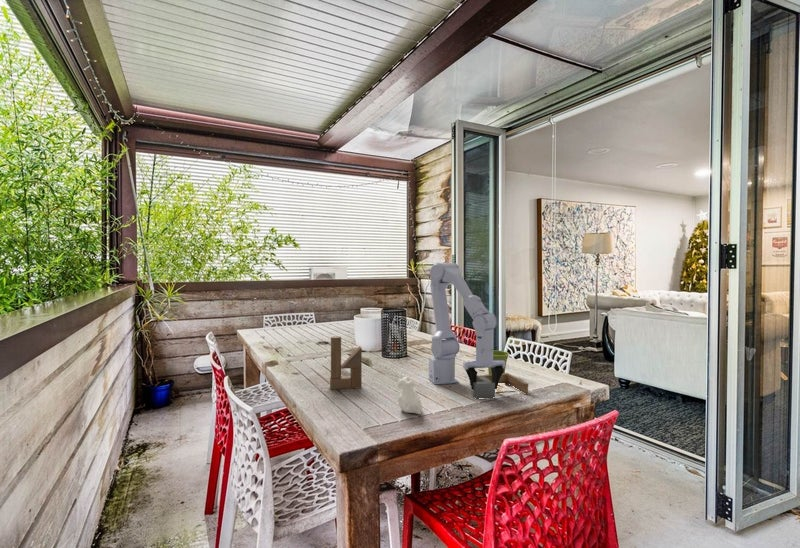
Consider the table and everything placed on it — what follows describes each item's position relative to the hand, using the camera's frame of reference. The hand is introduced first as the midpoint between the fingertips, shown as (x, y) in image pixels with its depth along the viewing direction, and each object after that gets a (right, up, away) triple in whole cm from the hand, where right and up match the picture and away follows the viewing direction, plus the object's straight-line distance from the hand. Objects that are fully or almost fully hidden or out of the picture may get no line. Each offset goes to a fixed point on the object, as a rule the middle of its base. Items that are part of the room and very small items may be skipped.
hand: (484, 389), depth 138 cm
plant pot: (+10, -1, +23) cm, 25 cm away
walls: (+5, -1, +4) cm, 7 cm away
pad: (+5, -1, +5) cm, 8 cm away
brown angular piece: (-48, -1, +6) cm, 48 cm away
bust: (-26, -2, -17) cm, 31 cm away
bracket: (-2, -1, -2) cm, 3 cm away
